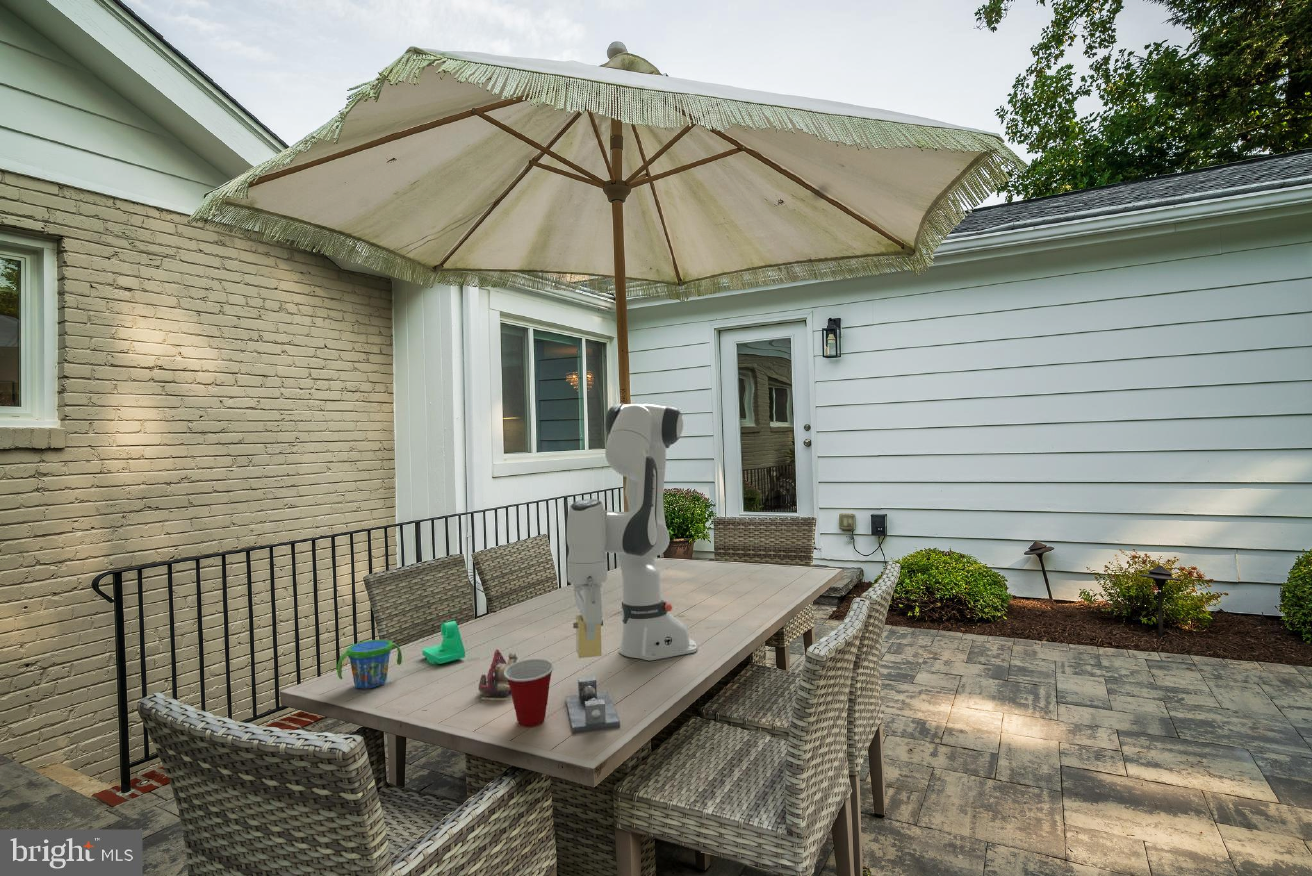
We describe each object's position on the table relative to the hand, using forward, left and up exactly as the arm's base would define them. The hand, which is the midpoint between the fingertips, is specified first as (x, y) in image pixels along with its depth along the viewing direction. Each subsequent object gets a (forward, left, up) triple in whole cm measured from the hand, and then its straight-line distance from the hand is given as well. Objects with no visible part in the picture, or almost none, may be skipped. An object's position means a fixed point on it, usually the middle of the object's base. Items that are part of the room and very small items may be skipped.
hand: (588, 635), depth 142 cm
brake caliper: (+20, -20, -18) cm, 33 cm away
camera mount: (+37, -51, -18) cm, 65 cm away
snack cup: (+53, -36, -18) cm, 66 cm away
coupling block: (0, 0, -4) cm, 4 cm away
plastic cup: (+13, 0, -18) cm, 22 cm away
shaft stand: (0, 0, -18) cm, 18 cm away
